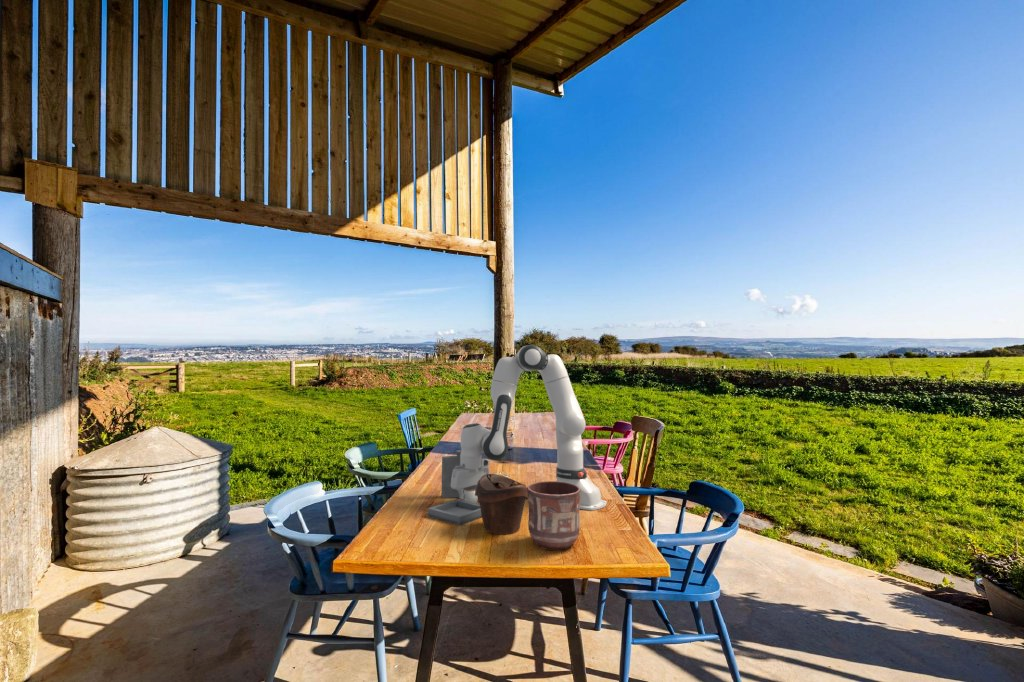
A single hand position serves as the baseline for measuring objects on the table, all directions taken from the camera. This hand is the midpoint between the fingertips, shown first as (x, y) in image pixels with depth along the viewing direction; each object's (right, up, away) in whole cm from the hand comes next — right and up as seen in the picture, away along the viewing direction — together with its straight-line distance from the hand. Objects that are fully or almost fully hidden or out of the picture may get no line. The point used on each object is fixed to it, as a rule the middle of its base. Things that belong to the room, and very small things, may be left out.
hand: (470, 496), depth 198 cm
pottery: (+31, -1, -44) cm, 54 cm away
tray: (-3, -2, -15) cm, 16 cm away
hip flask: (-6, -4, +12) cm, 14 cm away
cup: (0, -3, 0) cm, 3 cm away
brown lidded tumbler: (+14, -2, -30) cm, 33 cm away
